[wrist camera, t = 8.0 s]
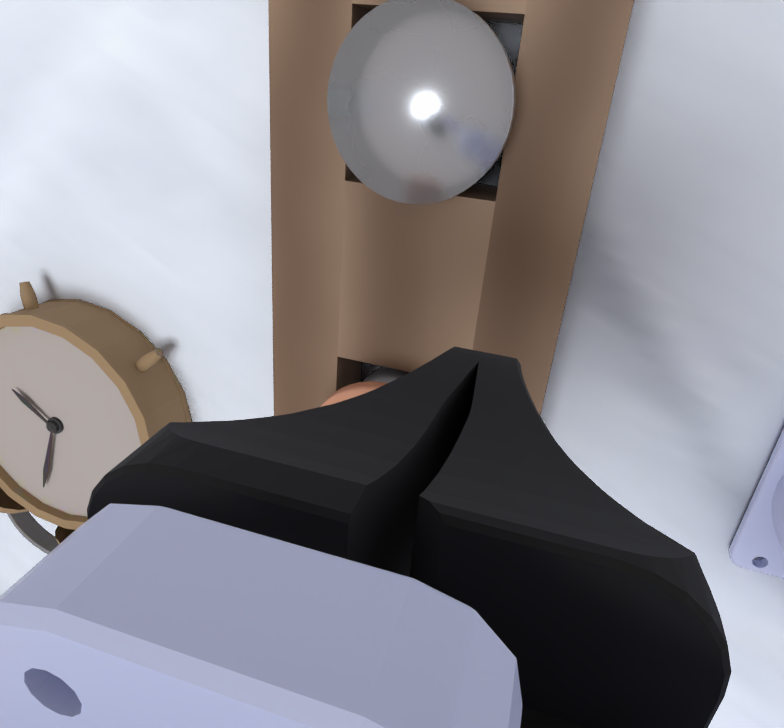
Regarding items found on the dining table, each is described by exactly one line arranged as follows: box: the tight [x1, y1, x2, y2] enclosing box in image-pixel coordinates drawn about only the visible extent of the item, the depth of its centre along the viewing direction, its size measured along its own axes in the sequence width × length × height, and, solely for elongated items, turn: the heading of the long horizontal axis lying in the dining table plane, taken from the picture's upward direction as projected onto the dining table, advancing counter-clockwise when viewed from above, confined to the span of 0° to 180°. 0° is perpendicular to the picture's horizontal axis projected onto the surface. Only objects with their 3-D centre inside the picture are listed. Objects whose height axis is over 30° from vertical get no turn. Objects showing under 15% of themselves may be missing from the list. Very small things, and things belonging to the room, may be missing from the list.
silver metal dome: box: [327, 0, 516, 204], centre depth 17 cm, size 5×5×4 cm
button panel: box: [269, 0, 634, 416], centre depth 20 cm, size 10×22×3 cm, turn 176°
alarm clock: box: [0, 282, 192, 554], centre depth 30 cm, size 11×5×15 cm
